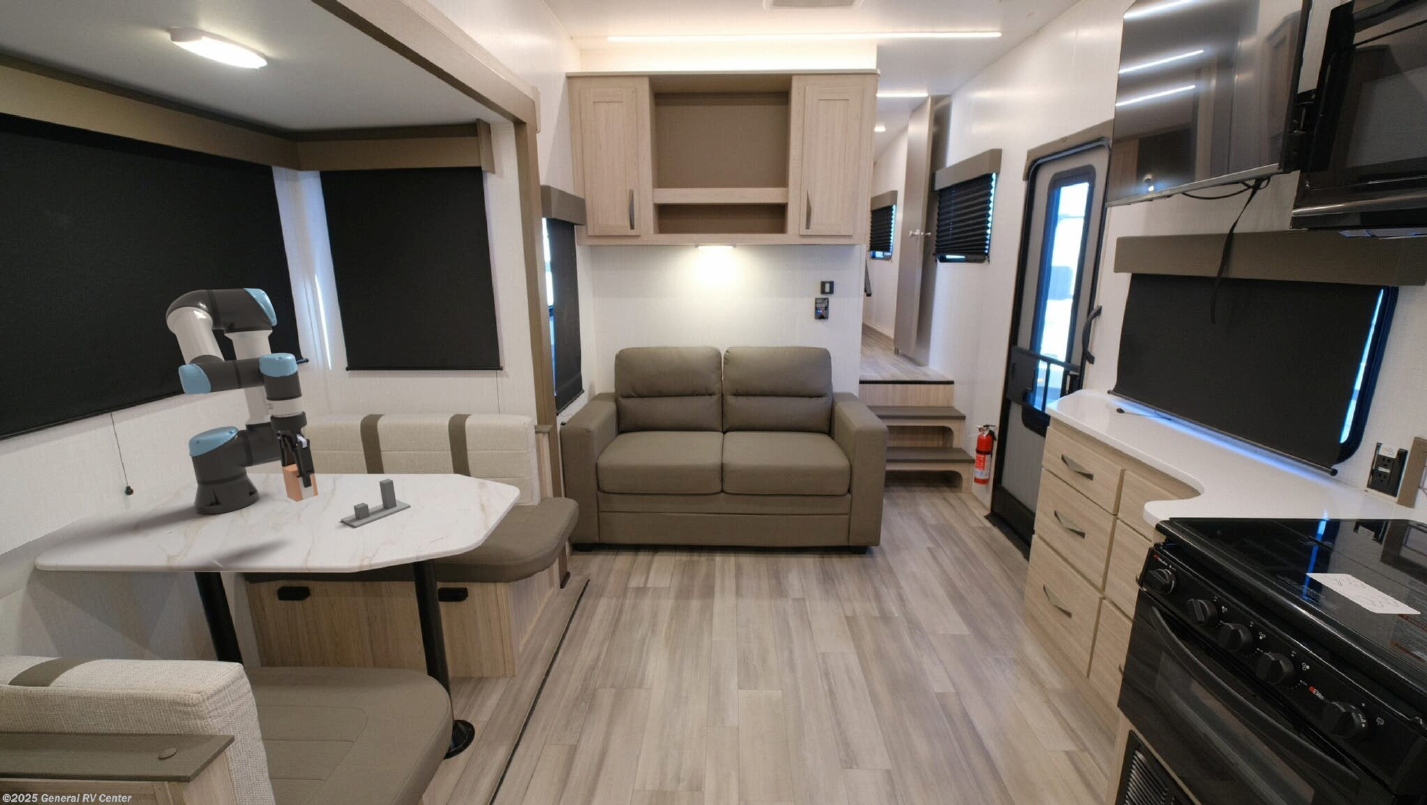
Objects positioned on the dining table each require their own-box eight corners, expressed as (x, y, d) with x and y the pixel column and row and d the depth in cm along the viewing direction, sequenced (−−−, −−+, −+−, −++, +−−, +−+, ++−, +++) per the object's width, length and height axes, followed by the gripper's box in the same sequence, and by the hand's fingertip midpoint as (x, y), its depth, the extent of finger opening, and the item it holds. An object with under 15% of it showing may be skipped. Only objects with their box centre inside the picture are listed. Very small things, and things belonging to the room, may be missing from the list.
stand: (341, 520, 164) (336, 491, 161) (395, 501, 177) (391, 474, 174) (356, 527, 159) (351, 498, 157) (410, 506, 173) (406, 479, 170)
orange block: (287, 497, 154) (281, 467, 151) (308, 490, 158) (303, 461, 156) (296, 501, 151) (291, 471, 149) (318, 494, 155) (313, 465, 153)
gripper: (254, 410, 150) (271, 491, 156) (287, 422, 141) (304, 508, 147) (287, 404, 156) (301, 482, 162) (320, 415, 147) (335, 498, 153)
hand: (302, 494), depth 154 cm, fingers closed on orange block, 5 cm apart
